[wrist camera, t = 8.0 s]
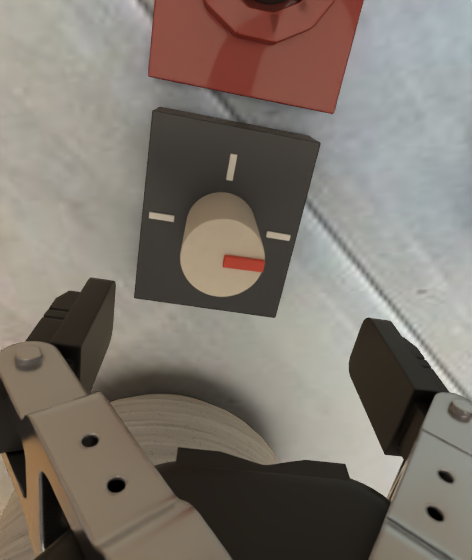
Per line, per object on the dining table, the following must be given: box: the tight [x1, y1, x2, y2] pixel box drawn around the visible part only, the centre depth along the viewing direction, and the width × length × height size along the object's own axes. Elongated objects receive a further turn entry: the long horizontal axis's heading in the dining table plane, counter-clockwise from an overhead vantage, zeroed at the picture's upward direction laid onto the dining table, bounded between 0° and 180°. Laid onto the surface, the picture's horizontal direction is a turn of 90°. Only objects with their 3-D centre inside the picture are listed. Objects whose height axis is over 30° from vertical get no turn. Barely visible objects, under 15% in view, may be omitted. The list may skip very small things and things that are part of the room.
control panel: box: [134, 107, 320, 318], centre depth 26 cm, size 11×9×3 cm
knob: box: [180, 192, 265, 297], centre depth 22 cm, size 4×4×5 cm
